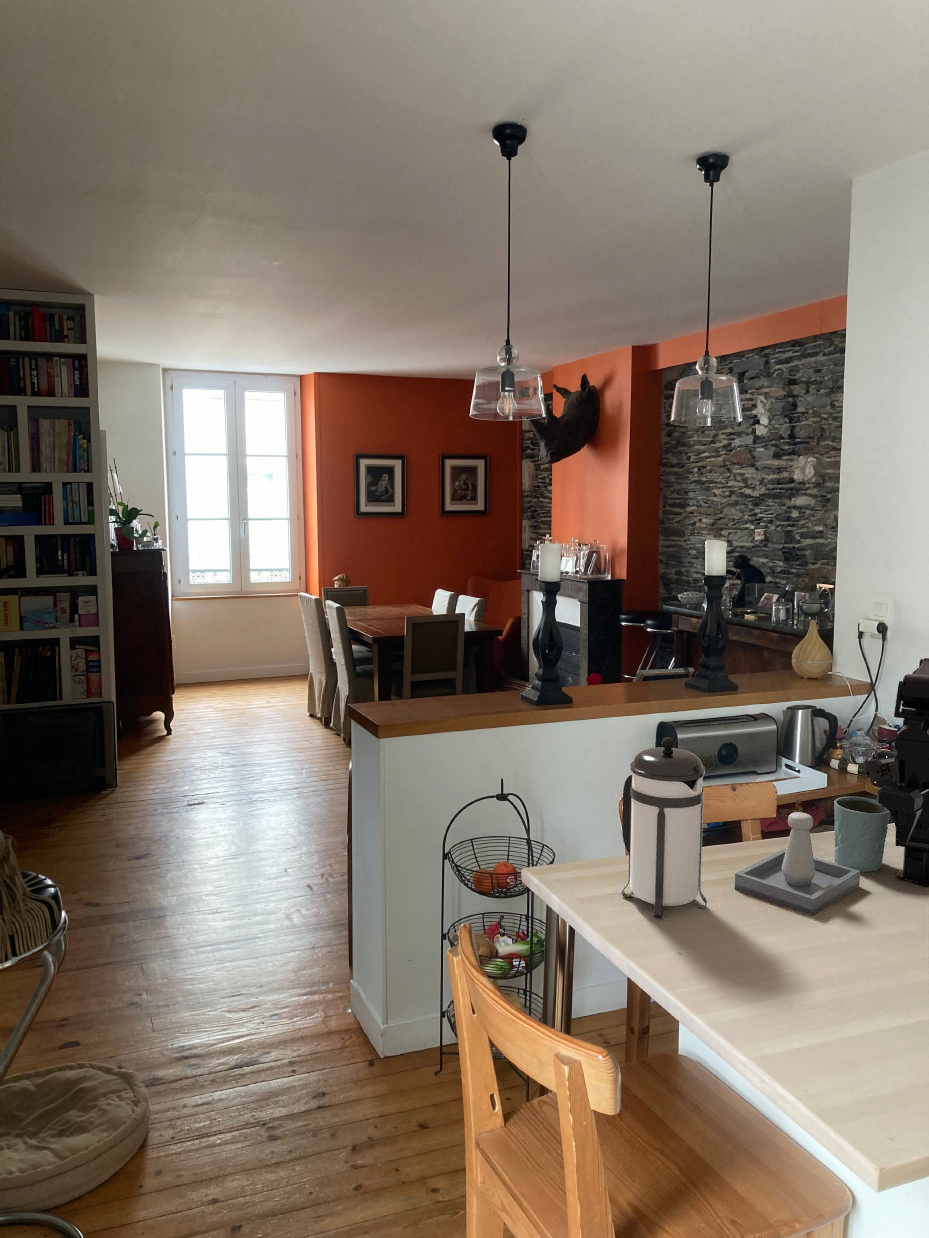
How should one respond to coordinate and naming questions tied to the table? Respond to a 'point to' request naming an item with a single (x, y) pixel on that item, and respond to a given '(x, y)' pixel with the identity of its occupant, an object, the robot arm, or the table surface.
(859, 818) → the teal cup
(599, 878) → the table surface
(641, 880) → the coffee press
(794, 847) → the salt shaker
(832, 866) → the tray
